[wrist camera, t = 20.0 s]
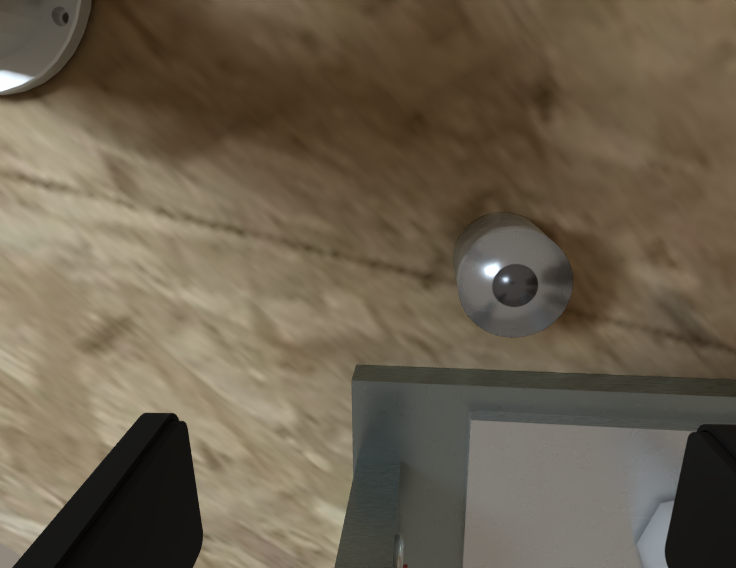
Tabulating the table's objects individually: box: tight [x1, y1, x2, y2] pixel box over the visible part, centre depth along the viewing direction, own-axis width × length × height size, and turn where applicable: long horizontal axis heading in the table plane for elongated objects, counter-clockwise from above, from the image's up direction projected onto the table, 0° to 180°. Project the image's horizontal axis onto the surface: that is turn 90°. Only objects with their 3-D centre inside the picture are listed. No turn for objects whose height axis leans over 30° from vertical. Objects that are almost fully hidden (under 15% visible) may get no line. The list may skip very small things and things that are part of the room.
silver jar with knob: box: [453, 212, 573, 338], centre depth 26 cm, size 5×5×5 cm
